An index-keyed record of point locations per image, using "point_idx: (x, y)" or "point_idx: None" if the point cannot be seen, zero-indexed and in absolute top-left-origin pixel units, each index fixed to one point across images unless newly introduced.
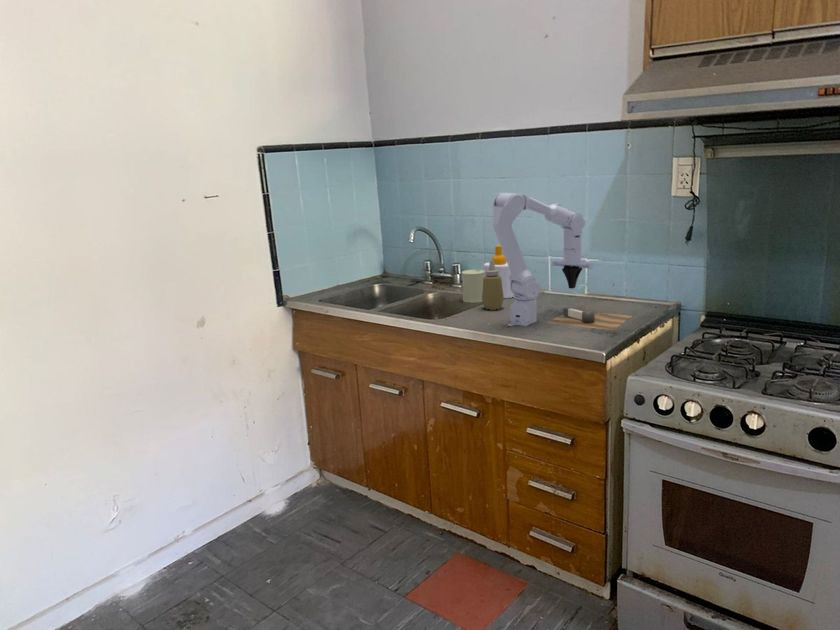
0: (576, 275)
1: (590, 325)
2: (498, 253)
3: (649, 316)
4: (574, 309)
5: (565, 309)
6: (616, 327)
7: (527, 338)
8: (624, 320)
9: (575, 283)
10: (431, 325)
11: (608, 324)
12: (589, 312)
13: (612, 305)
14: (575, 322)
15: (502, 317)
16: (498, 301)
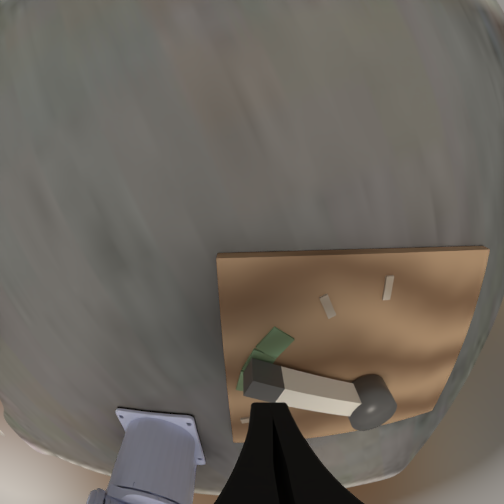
0: (313, 490)
1: None
2: None
3: None
4: (304, 396)
5: (258, 396)
6: (441, 390)
7: None
8: (467, 319)
9: (295, 432)
10: (31, 447)
11: (424, 381)
12: (379, 416)
13: (363, 26)
14: (322, 413)
15: (58, 390)
16: None
